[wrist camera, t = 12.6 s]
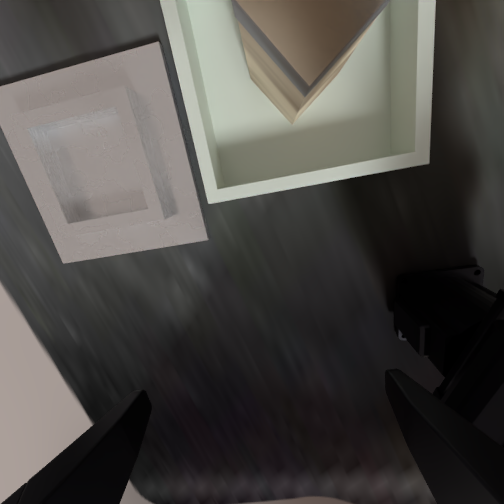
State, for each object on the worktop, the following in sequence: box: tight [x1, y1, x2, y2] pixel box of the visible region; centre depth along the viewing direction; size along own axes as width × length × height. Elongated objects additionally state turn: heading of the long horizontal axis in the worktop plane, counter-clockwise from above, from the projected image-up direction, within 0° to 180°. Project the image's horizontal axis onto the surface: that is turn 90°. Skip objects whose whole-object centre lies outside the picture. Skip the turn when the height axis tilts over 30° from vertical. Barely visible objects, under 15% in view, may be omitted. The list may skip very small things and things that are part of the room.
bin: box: [160, 0, 436, 204], centre depth 15 cm, size 14×14×4 cm
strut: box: [231, 0, 390, 125], centre depth 12 cm, size 4×4×8 cm
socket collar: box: [0, 42, 210, 264], centre depth 19 cm, size 14×14×2 cm
